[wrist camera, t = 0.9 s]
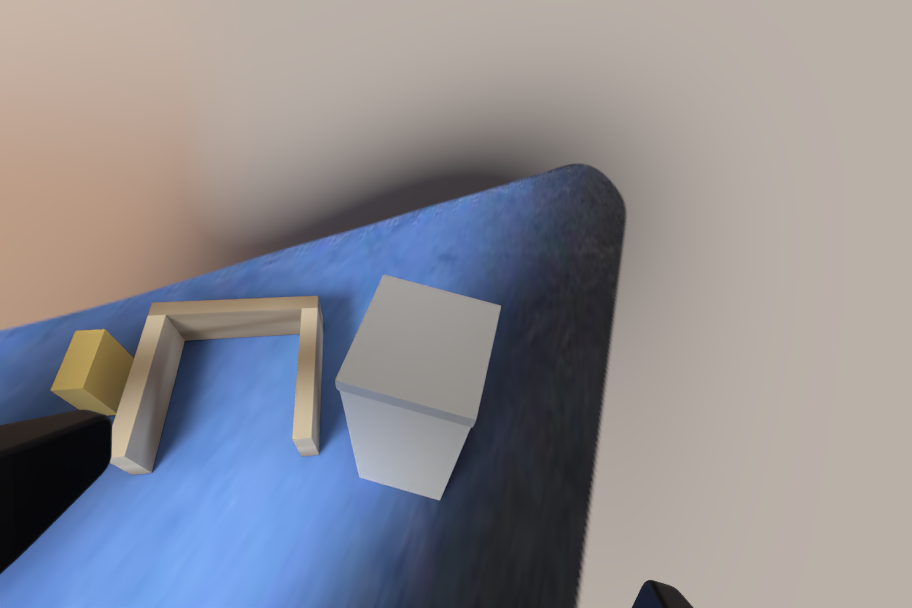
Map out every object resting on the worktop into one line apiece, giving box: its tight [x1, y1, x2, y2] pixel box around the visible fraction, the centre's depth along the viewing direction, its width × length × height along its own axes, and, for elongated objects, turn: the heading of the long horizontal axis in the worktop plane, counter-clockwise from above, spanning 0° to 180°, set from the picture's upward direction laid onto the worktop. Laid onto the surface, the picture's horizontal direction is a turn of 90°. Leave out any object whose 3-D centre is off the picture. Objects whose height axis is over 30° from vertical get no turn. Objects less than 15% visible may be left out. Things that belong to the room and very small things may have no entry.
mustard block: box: [50, 329, 134, 416], centre depth 20 cm, size 3×1×3 cm, turn 9°
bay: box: [110, 296, 324, 475], centre depth 21 cm, size 8×8×2 cm
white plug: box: [335, 274, 501, 501], centre depth 17 cm, size 4×4×10 cm
